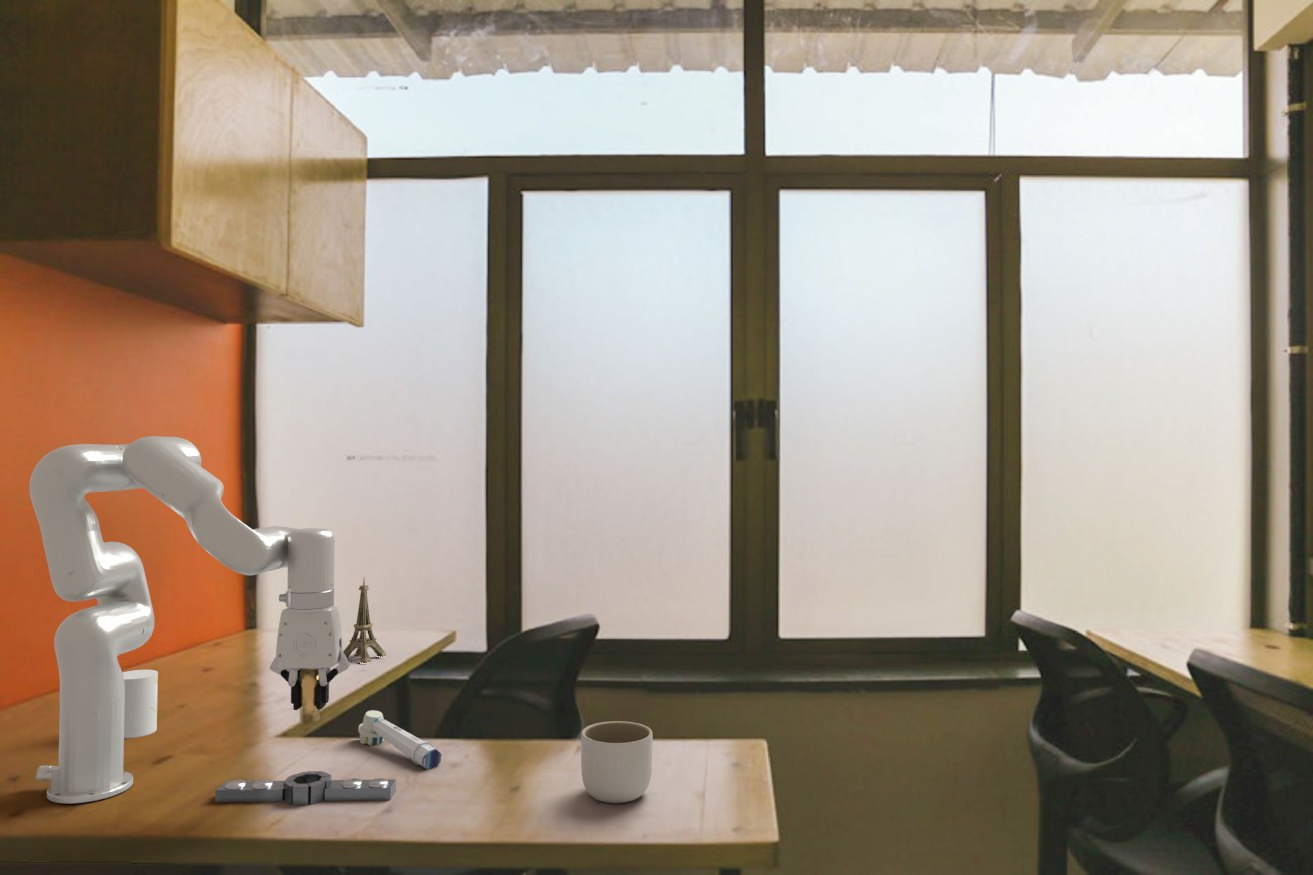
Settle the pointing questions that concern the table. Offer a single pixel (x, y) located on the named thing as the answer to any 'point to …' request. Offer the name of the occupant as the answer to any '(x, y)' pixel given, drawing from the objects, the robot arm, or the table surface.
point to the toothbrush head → (397, 740)
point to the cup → (140, 702)
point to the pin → (308, 695)
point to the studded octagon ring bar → (306, 789)
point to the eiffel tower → (363, 631)
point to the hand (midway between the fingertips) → (309, 706)
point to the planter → (616, 760)
